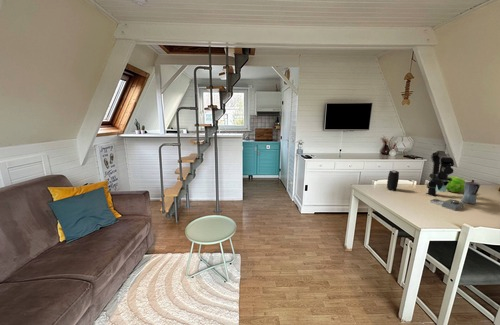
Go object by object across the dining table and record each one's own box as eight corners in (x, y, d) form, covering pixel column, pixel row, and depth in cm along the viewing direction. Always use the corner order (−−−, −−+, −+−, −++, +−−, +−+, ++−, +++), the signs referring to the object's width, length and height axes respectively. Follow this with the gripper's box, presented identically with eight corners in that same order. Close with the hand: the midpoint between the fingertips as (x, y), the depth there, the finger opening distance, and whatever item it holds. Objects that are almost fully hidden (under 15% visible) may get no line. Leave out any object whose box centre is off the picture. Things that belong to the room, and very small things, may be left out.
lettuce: (468, 194, 198) (475, 180, 194) (455, 195, 192) (462, 180, 188) (448, 187, 214) (454, 174, 209) (436, 187, 207) (441, 174, 203)
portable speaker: (390, 187, 213) (393, 169, 209) (399, 190, 204) (402, 172, 200) (384, 188, 211) (386, 170, 206) (392, 191, 202) (395, 172, 198)
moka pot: (470, 199, 180) (475, 178, 176) (482, 206, 166) (488, 183, 162) (456, 198, 183) (461, 177, 179) (467, 205, 169) (473, 182, 165)
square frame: (436, 200, 179) (437, 194, 178) (462, 207, 164) (463, 201, 163) (428, 202, 174) (430, 196, 173) (455, 210, 159) (456, 203, 158)
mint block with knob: (438, 189, 176) (439, 182, 175) (445, 191, 172) (446, 184, 171) (435, 190, 174) (436, 183, 173) (442, 192, 170) (444, 185, 169)
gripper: (437, 169, 181) (434, 185, 184) (426, 170, 173) (423, 188, 176) (454, 171, 171) (450, 189, 174) (443, 173, 163) (439, 192, 166)
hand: (440, 189), depth 173 cm, fingers closed on mint block with knob, 5 cm apart
